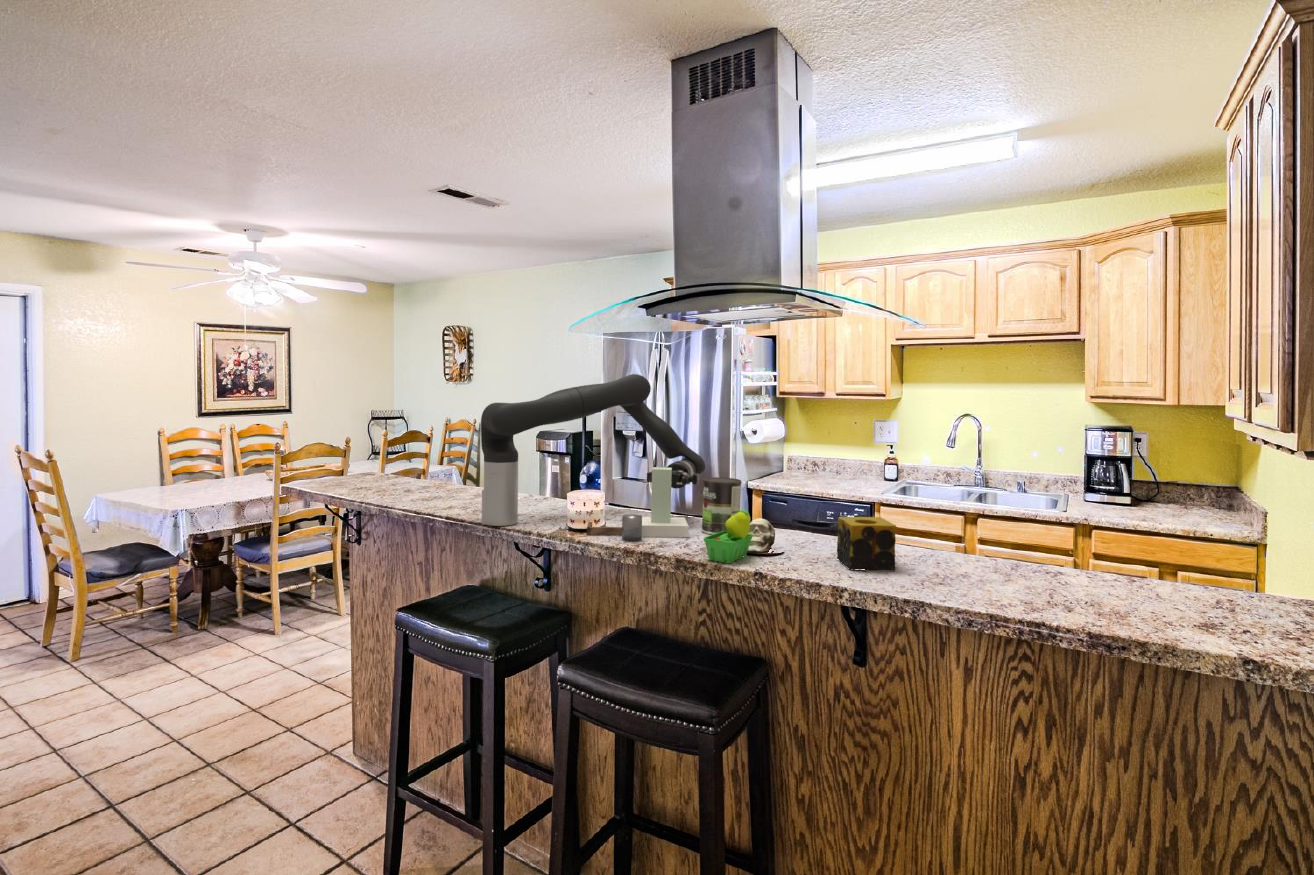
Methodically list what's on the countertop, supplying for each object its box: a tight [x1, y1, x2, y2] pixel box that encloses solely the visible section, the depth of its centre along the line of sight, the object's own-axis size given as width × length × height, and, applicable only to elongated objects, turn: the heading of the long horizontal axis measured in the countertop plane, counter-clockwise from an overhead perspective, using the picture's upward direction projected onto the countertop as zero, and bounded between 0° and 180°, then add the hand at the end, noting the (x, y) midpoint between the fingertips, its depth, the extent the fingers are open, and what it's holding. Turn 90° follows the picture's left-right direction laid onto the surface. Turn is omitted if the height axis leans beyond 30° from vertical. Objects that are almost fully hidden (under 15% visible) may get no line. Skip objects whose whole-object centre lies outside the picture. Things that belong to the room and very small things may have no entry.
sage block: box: [650, 466, 672, 523], centre depth 181 cm, size 5×5×14 cm
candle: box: [836, 516, 897, 571], centre depth 151 cm, size 10×10×10 cm
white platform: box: [642, 516, 690, 538], centre depth 182 cm, size 13×12×3 cm
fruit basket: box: [703, 509, 753, 564], centre depth 154 cm, size 11×9×11 cm
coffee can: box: [701, 477, 743, 535], centre depth 184 cm, size 10×10×14 cm
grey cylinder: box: [621, 513, 643, 543], centre depth 172 cm, size 5×5×6 cm
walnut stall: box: [586, 521, 622, 537], centre depth 182 cm, size 11×10×2 cm
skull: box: [747, 517, 779, 555], centre depth 163 cm, size 12×10×10 cm
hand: (668, 480), depth 187 cm, fingers open, 8 cm apart
